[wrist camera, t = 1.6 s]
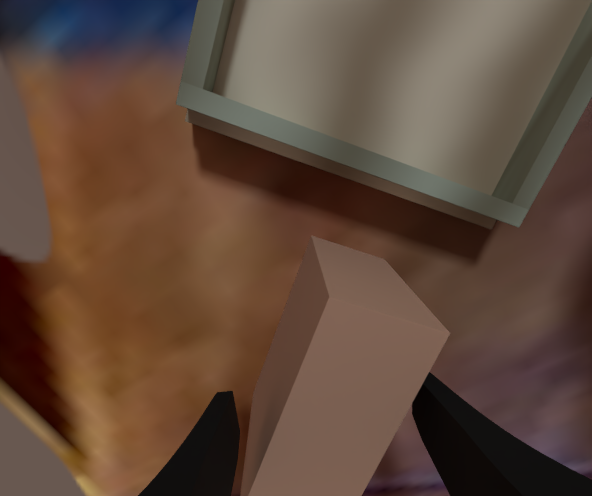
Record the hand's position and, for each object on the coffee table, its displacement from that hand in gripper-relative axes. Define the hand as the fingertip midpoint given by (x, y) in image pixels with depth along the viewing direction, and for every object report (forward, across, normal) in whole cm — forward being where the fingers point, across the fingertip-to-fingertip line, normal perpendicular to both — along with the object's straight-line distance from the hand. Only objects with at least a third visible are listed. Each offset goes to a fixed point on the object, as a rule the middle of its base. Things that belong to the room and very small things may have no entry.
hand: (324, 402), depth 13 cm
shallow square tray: (+5, -5, -14) cm, 16 cm away
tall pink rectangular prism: (+5, 0, 0) cm, 5 cm away
